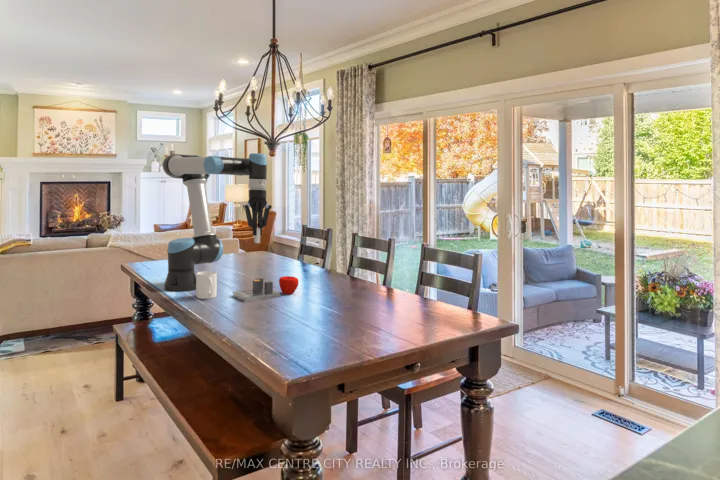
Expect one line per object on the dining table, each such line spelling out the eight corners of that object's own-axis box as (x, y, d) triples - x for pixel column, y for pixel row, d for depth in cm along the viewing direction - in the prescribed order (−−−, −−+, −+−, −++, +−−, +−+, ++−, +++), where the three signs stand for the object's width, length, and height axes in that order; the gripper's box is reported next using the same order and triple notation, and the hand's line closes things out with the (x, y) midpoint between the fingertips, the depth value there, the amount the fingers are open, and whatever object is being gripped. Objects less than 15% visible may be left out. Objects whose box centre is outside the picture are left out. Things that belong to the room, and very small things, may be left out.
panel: (233, 296, 217) (233, 291, 217) (267, 292, 228) (267, 287, 228) (244, 301, 208) (244, 297, 208) (280, 297, 219) (280, 292, 218)
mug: (201, 301, 206) (201, 276, 205) (193, 296, 216) (193, 272, 215) (221, 299, 211) (221, 275, 209) (213, 294, 220) (213, 270, 219)
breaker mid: (252, 291, 218) (252, 280, 217) (258, 291, 219) (258, 279, 219) (254, 292, 216) (254, 280, 215) (260, 292, 218) (260, 280, 217)
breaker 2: (264, 292, 216) (264, 281, 216) (270, 292, 218) (270, 281, 218) (266, 293, 215) (266, 282, 214) (272, 293, 217) (272, 282, 216)
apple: (301, 292, 229) (302, 276, 228) (291, 296, 221) (291, 279, 220) (285, 290, 233) (286, 274, 232) (275, 294, 225) (275, 277, 224)
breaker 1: (255, 289, 223) (255, 278, 223) (261, 288, 225) (261, 277, 225) (257, 290, 222) (257, 279, 221) (263, 289, 224) (263, 278, 223)
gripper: (247, 189, 206) (247, 244, 208) (275, 189, 214) (274, 243, 216) (239, 188, 212) (239, 242, 214) (267, 189, 220) (266, 241, 222)
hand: (257, 242), depth 215 cm, fingers closed
